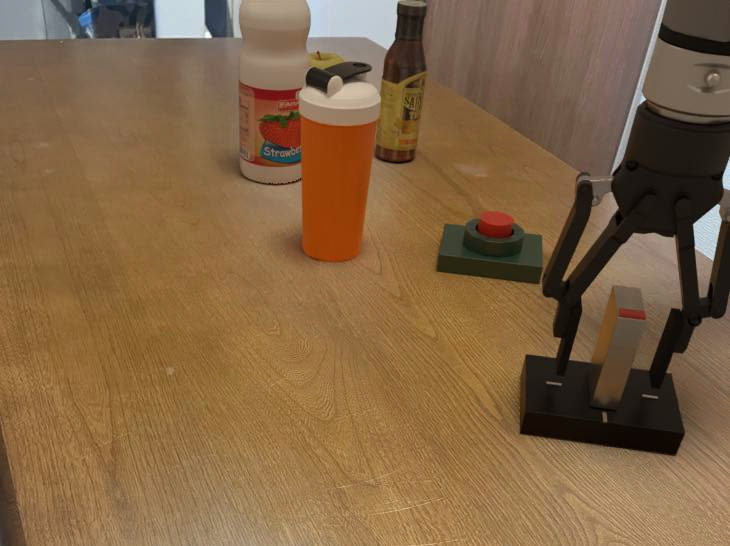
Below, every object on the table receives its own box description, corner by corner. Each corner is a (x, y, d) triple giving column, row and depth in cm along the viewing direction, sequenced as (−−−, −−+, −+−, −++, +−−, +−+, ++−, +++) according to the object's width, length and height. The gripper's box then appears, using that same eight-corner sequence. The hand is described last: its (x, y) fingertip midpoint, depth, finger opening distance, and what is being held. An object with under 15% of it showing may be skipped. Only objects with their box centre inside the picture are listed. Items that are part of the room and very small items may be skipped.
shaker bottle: (383, 250, 106) (401, 70, 92) (334, 273, 101) (346, 85, 87) (328, 227, 110) (337, 51, 96) (279, 248, 105) (281, 65, 91)
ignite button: (511, 227, 104) (514, 213, 103) (510, 241, 101) (513, 227, 100) (478, 223, 104) (480, 209, 103) (476, 237, 101) (479, 223, 100)
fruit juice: (273, 155, 127) (276, -77, 108) (320, 174, 123) (331, -64, 104) (225, 170, 122) (219, -71, 103) (272, 191, 118) (275, -57, 98)
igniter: (538, 251, 108) (545, 220, 105) (538, 284, 101) (546, 252, 99) (442, 240, 109) (446, 208, 106) (436, 272, 102) (441, 239, 100)
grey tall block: (586, 372, 83) (613, 281, 77) (612, 375, 83) (641, 285, 76) (590, 407, 79) (618, 314, 72) (616, 410, 78) (648, 318, 72)
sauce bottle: (403, 167, 126) (420, 11, 113) (366, 157, 129) (379, 2, 115) (423, 154, 131) (442, 2, 117) (387, 145, 133) (402, -5, 119)
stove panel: (663, 394, 85) (672, 371, 84) (676, 456, 78) (686, 432, 76) (520, 375, 87) (526, 351, 85) (519, 434, 79) (525, 410, 77)
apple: (292, 93, 149) (294, 41, 144) (349, 97, 149) (352, 45, 144) (288, 112, 142) (289, 57, 136) (348, 116, 142) (351, 62, 136)
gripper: (550, 107, 62) (492, 380, 78) (851, 140, 60) (729, 413, 76) (548, 78, 67) (494, 338, 83) (824, 107, 66) (716, 368, 81)
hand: (606, 373), depth 79 cm, fingers open, 8 cm apart
